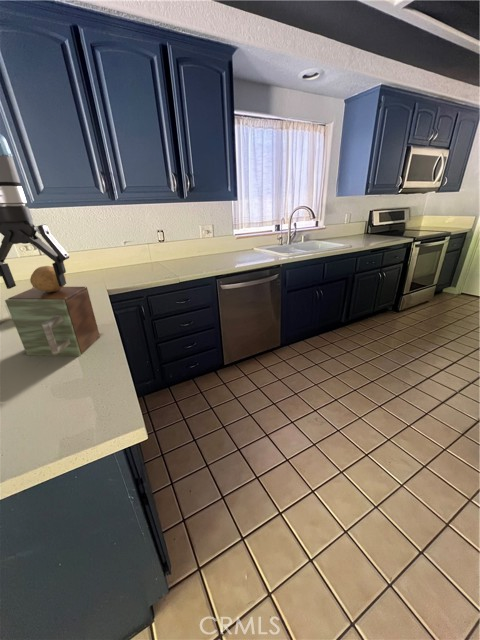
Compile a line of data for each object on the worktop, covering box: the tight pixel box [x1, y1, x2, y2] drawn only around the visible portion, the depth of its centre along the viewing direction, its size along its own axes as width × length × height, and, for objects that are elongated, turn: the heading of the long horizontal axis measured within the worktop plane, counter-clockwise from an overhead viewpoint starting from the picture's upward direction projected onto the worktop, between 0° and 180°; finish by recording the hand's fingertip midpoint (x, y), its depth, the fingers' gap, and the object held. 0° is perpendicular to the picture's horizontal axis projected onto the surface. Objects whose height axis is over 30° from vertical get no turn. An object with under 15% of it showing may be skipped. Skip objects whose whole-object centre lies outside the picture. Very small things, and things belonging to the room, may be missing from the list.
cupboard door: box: [4, 298, 82, 357], centre depth 81 cm, size 8×18×20 cm, turn 88°
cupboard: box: [7, 286, 101, 355], centre depth 91 cm, size 12×18×20 cm, turn 88°
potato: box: [29, 265, 67, 292], centre depth 86 cm, size 10×14×8 cm
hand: (37, 286), depth 76 cm, fingers open, 13 cm apart
